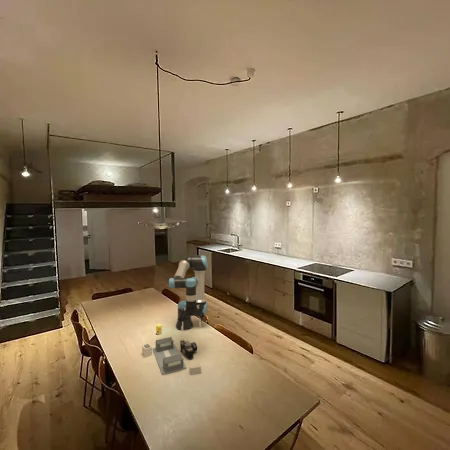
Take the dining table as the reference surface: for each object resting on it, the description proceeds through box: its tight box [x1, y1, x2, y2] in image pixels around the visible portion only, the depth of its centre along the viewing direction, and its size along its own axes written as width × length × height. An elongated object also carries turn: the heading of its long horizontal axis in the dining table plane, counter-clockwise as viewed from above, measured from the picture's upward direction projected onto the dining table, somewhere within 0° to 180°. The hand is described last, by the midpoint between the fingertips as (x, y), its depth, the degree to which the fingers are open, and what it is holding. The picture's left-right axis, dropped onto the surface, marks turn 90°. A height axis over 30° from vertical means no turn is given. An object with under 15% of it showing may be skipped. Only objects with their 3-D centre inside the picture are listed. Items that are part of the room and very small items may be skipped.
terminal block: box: [188, 363, 202, 376], centre depth 172 cm, size 7×4×4 cm, turn 106°
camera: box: [179, 338, 198, 361], centre depth 194 cm, size 16×10×10 cm, turn 35°
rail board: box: [152, 336, 187, 376], centre depth 187 cm, size 16×34×7 cm, turn 25°
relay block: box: [141, 343, 153, 358], centre depth 193 cm, size 5×6×7 cm
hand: (191, 328), depth 194 cm, fingers open, 13 cm apart
